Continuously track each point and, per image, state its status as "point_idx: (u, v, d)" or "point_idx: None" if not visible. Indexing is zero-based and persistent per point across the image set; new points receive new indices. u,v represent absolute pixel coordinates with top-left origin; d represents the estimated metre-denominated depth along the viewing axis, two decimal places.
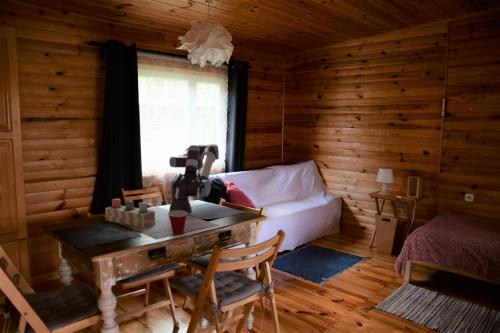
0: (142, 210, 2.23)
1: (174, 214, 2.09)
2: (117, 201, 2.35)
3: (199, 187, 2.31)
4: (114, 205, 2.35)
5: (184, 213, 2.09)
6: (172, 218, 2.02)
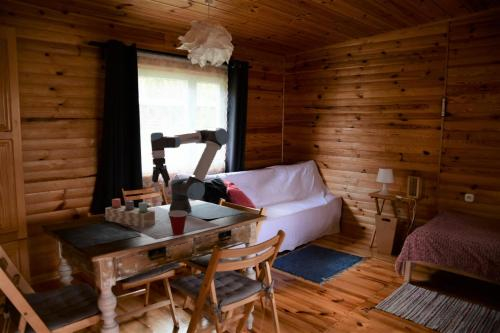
0: (142, 210, 2.23)
1: (174, 214, 2.09)
2: (117, 201, 2.35)
3: None
4: (114, 205, 2.35)
5: (184, 213, 2.09)
6: (172, 218, 2.02)
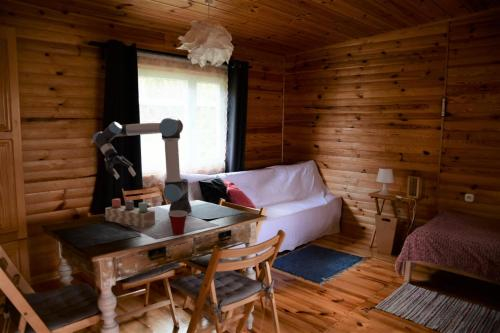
0: (142, 210, 2.23)
1: (174, 214, 2.09)
2: (117, 201, 2.35)
3: None
4: (114, 205, 2.35)
5: (184, 213, 2.09)
6: (172, 218, 2.02)
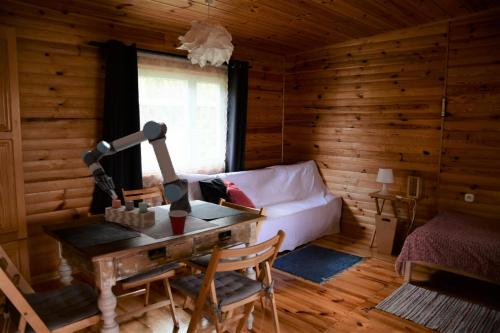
0: (142, 210, 2.23)
1: (174, 214, 2.09)
2: (117, 202, 2.35)
3: (108, 188, 2.38)
4: (114, 206, 2.35)
5: (184, 213, 2.09)
6: (172, 218, 2.02)
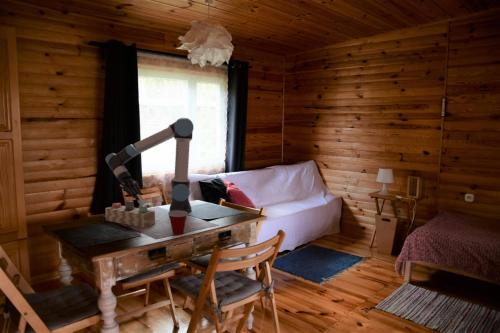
0: None
1: (174, 214, 2.09)
2: (117, 206, 2.35)
3: (135, 193, 2.26)
4: None
5: (184, 213, 2.09)
6: (172, 218, 2.02)
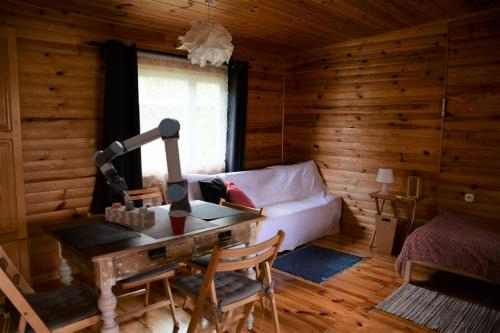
0: None
1: (174, 214, 2.09)
2: (117, 206, 2.35)
3: None
4: None
5: (184, 213, 2.09)
6: (172, 218, 2.02)
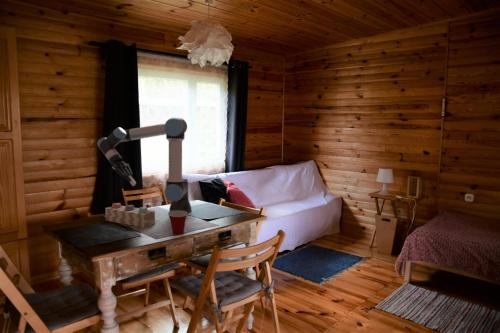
0: None
1: (174, 214, 2.09)
2: (117, 206, 2.35)
3: (126, 174, 2.35)
4: None
5: (184, 213, 2.09)
6: (172, 218, 2.02)
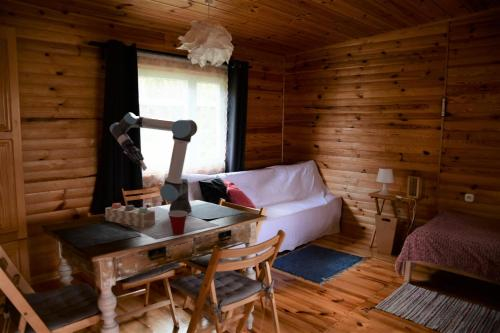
0: None
1: (174, 214, 2.09)
2: (117, 206, 2.35)
3: (138, 159, 2.39)
4: None
5: (184, 213, 2.09)
6: (172, 218, 2.02)
